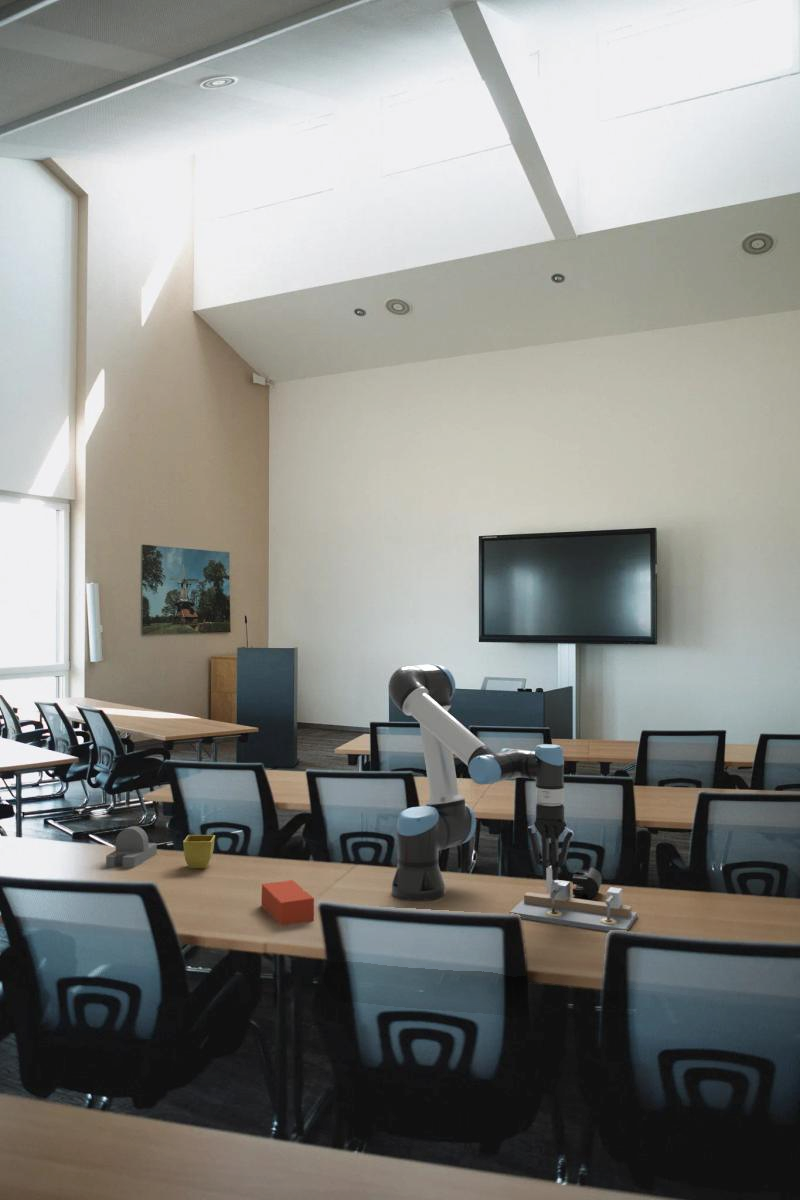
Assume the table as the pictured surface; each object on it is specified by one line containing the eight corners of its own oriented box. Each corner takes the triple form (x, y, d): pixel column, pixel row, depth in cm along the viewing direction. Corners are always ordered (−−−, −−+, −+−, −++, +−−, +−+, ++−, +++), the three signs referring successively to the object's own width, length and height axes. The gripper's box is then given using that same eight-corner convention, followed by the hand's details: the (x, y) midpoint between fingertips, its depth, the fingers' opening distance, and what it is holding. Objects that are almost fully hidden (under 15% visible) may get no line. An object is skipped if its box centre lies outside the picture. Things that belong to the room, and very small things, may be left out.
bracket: (157, 854, 295) (157, 821, 295) (133, 869, 277) (133, 834, 277) (130, 853, 296) (130, 820, 296) (104, 867, 278) (104, 833, 279)
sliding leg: (544, 911, 228) (544, 890, 228) (555, 900, 237) (555, 879, 238) (559, 914, 226) (559, 892, 227) (570, 902, 236) (570, 881, 236)
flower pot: (215, 862, 283) (215, 834, 283) (211, 870, 274) (211, 841, 274) (187, 863, 282) (187, 835, 283) (182, 870, 274) (182, 841, 274)
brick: (261, 906, 240) (261, 883, 240) (292, 901, 244) (292, 879, 244) (280, 926, 224) (280, 902, 224) (314, 921, 228) (314, 898, 228)
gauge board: (509, 916, 230) (509, 888, 230) (526, 901, 242) (526, 874, 243) (625, 933, 217) (625, 904, 217) (637, 916, 229) (636, 888, 229)
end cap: (598, 902, 241) (598, 877, 241) (572, 900, 243) (572, 875, 243) (602, 892, 251) (601, 868, 251) (576, 890, 253) (576, 866, 253)
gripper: (522, 803, 236) (522, 892, 235) (570, 807, 230) (570, 898, 230) (530, 798, 243) (531, 884, 242) (577, 802, 237) (578, 891, 236)
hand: (550, 891), depth 236 cm, fingers closed
